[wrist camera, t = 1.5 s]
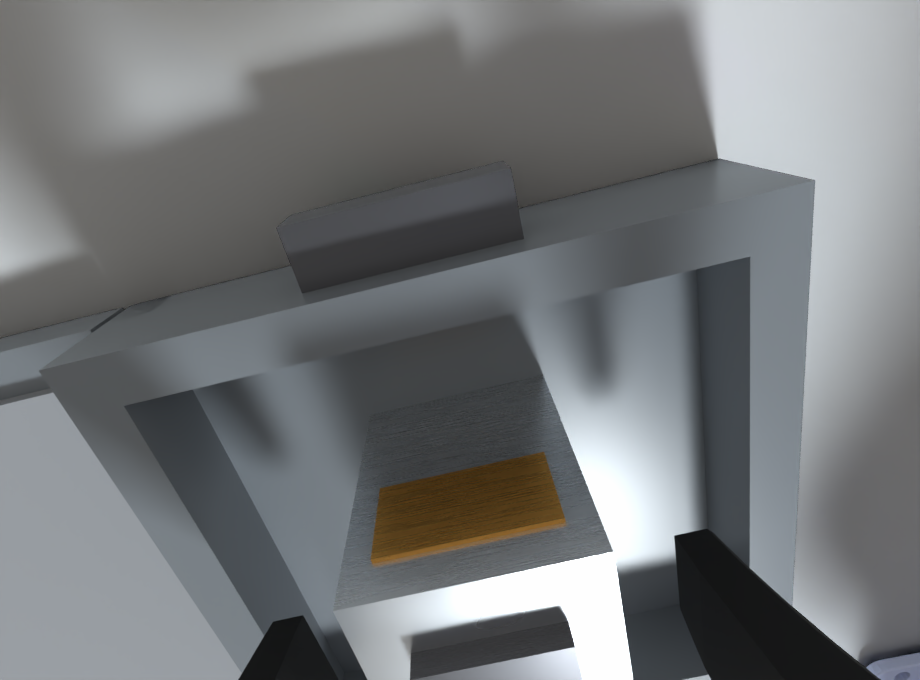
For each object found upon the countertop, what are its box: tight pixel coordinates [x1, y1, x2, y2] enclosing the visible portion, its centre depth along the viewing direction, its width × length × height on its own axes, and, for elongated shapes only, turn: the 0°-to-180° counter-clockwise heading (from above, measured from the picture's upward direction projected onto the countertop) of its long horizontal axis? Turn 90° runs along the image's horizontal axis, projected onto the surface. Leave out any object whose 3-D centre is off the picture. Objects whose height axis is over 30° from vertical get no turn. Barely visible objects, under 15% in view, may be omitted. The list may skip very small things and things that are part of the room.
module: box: [333, 375, 633, 680], centre depth 11 cm, size 4×6×5 cm, turn 14°
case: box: [0, 159, 815, 680], centre depth 13 cm, size 26×14×3 cm, turn 103°
